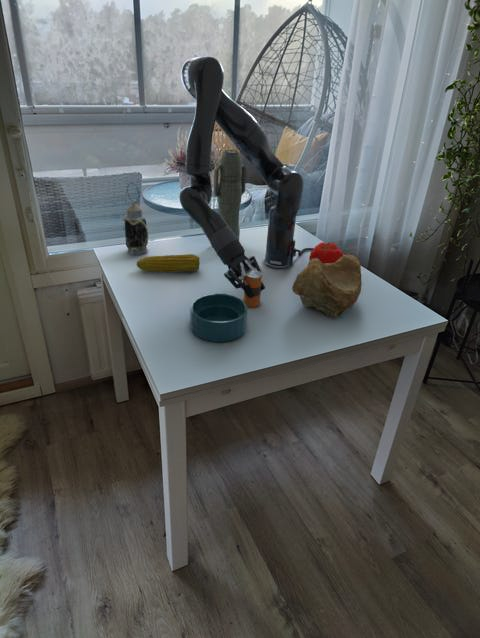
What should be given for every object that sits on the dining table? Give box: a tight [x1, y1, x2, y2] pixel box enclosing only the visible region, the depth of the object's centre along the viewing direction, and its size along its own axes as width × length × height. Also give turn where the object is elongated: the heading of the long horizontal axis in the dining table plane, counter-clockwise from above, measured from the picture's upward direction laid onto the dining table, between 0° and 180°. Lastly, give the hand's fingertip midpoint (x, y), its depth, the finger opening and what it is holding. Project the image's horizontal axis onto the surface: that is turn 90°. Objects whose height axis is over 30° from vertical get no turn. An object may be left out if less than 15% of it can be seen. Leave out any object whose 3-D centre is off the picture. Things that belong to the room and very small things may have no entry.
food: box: [136, 253, 201, 273], centre depth 148 cm, size 21×6×6 cm, turn 98°
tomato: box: [308, 241, 345, 264], centre depth 155 cm, size 11×12×9 cm
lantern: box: [122, 182, 149, 256], centre depth 156 cm, size 9×8×25 cm
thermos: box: [213, 149, 247, 241], centre depth 162 cm, size 9×12×35 cm
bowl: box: [189, 293, 248, 343], centre depth 121 cm, size 15×15×6 cm
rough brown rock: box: [291, 253, 362, 319], centre depth 131 cm, size 23×17×15 cm
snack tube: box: [243, 269, 263, 308], centre depth 132 cm, size 5×5×10 cm
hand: (257, 293), depth 132 cm, fingers closed on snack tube, 5 cm apart
